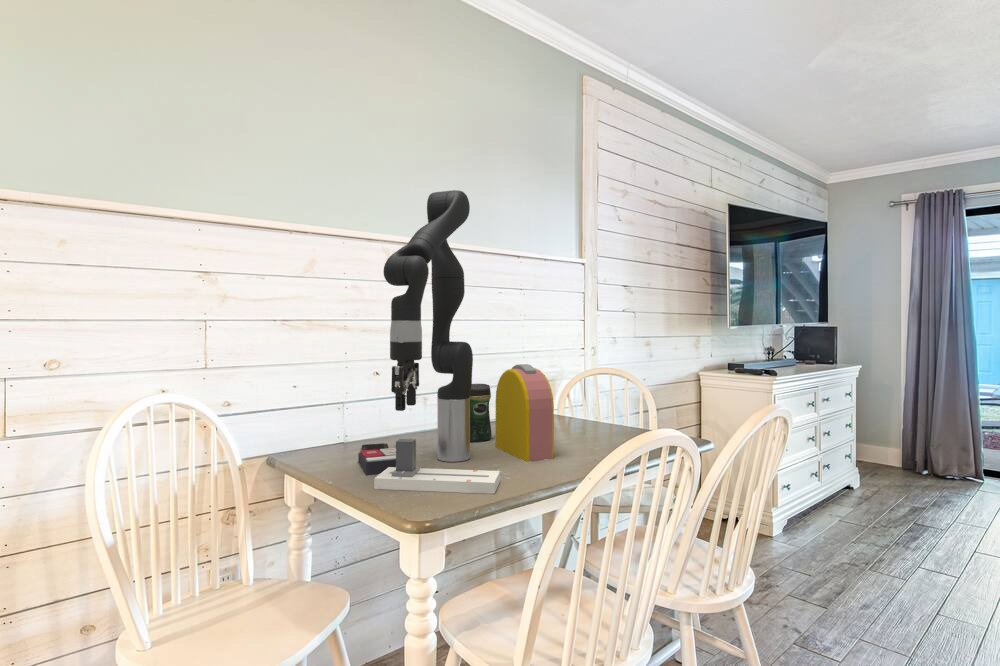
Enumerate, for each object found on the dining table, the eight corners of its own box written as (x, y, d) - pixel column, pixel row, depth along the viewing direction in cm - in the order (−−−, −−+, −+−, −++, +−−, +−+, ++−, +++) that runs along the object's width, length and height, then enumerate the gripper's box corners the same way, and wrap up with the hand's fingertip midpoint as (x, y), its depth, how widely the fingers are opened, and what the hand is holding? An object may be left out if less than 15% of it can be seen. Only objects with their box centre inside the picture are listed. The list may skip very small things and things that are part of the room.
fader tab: (400, 469, 134) (400, 437, 134) (419, 469, 134) (419, 437, 134) (391, 476, 128) (391, 442, 128) (412, 476, 127) (412, 443, 127)
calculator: (397, 446, 156) (409, 455, 142) (397, 461, 156) (409, 472, 142) (358, 449, 152) (366, 459, 138) (358, 465, 152) (366, 476, 138)
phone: (387, 443, 172) (390, 454, 158) (387, 446, 172) (390, 457, 158) (361, 444, 170) (362, 455, 156) (361, 448, 170) (362, 459, 156)
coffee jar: (485, 436, 187) (485, 382, 187) (494, 440, 180) (494, 384, 180) (458, 438, 183) (458, 383, 183) (466, 443, 176) (466, 385, 176)
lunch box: (554, 458, 156) (554, 366, 156) (526, 462, 152) (526, 367, 152) (520, 444, 175) (520, 361, 174) (494, 446, 171) (494, 362, 171)
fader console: (388, 477, 137) (388, 466, 137) (500, 481, 133) (500, 470, 133) (374, 488, 127) (374, 477, 127) (494, 493, 123) (494, 482, 123)
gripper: (400, 339, 138) (399, 403, 138) (380, 340, 124) (380, 412, 124) (429, 339, 137) (428, 404, 137) (412, 340, 123) (412, 412, 123)
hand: (405, 407), depth 131 cm, fingers open, 8 cm apart
